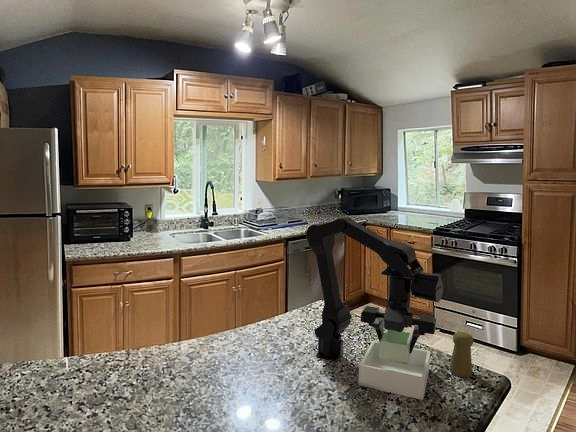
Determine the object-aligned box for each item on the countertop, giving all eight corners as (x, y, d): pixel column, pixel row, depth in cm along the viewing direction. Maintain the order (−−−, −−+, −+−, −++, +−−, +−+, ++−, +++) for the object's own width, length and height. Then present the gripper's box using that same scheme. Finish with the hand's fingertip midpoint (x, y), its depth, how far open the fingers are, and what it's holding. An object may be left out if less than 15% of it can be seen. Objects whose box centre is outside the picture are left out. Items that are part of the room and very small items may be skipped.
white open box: (358, 385, 108) (359, 365, 108) (371, 358, 123) (372, 340, 122) (423, 400, 102) (424, 378, 101) (429, 370, 117) (430, 351, 116)
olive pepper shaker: (474, 378, 113) (477, 339, 111) (450, 375, 114) (453, 337, 112) (469, 367, 118) (472, 330, 117) (447, 364, 120) (449, 328, 118)
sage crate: (379, 359, 109) (380, 340, 108) (385, 345, 117) (386, 328, 116) (407, 364, 106) (408, 346, 105) (411, 350, 114) (412, 332, 114)
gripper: (356, 297, 105) (354, 356, 108) (434, 309, 98) (430, 371, 100) (366, 285, 116) (364, 339, 118) (438, 295, 108) (434, 352, 111)
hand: (396, 350), depth 111 cm, fingers closed on sage crate, 7 cm apart
